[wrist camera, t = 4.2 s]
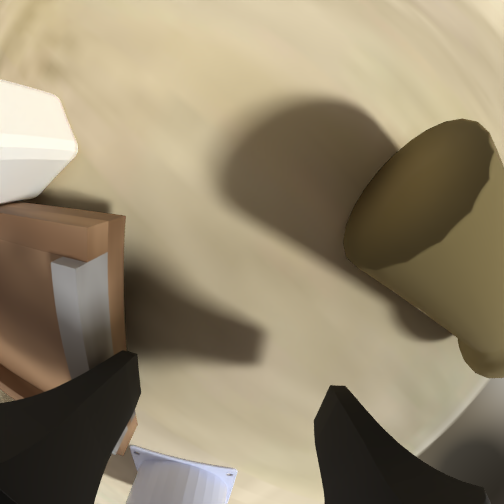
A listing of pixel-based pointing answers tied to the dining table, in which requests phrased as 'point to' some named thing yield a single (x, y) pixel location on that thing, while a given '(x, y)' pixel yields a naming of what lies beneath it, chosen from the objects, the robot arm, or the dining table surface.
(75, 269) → the brown wooden square tray
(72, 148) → the pepper shaker
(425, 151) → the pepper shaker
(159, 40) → the dining table surface
